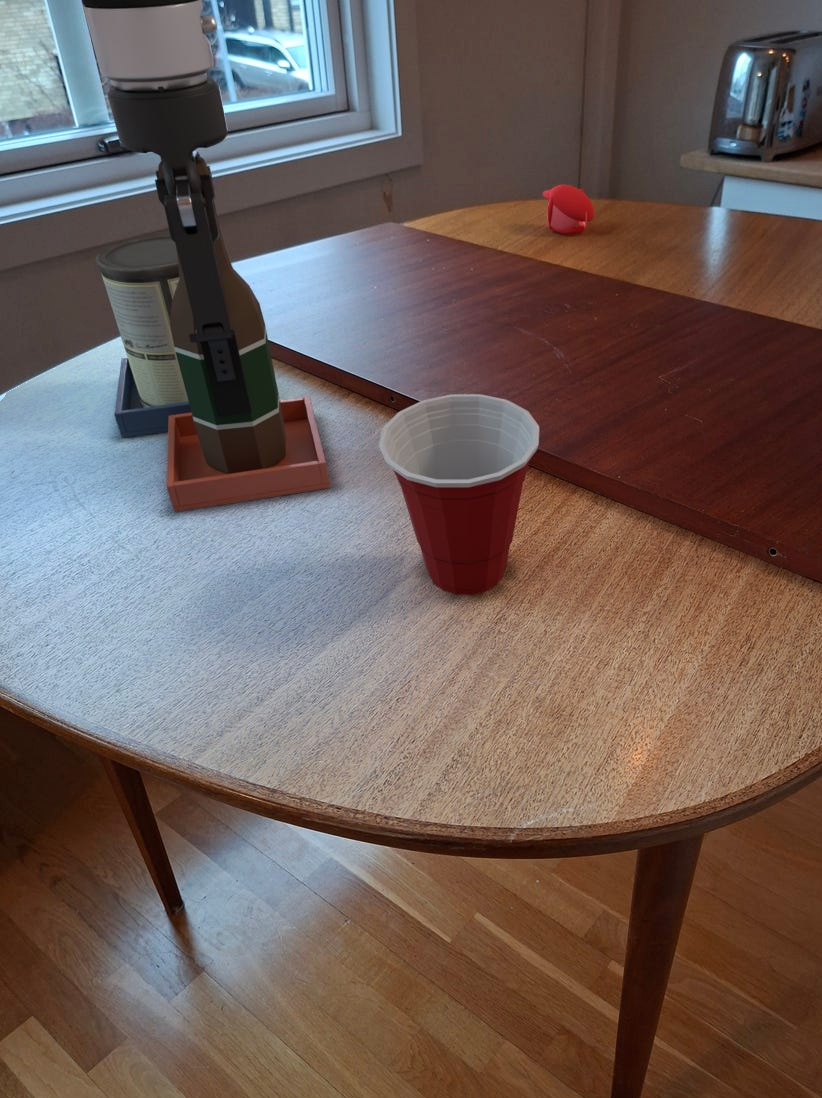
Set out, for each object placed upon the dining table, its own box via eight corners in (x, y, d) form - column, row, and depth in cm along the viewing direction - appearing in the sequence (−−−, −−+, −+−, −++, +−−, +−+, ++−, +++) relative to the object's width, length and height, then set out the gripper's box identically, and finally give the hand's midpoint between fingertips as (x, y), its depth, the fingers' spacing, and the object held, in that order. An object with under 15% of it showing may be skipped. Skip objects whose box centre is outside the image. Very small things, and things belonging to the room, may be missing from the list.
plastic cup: (373, 607, 63) (352, 461, 55) (420, 525, 71) (408, 387, 63) (519, 630, 61) (519, 481, 53) (551, 543, 69) (555, 401, 61)
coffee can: (166, 370, 94) (127, 231, 85) (257, 375, 93) (228, 234, 83) (120, 414, 86) (73, 267, 77) (219, 420, 85) (182, 271, 76)
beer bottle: (304, 437, 81) (252, 147, 65) (270, 480, 76) (205, 174, 60) (227, 430, 83) (158, 145, 67) (188, 472, 77) (103, 171, 61)
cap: (599, 227, 129) (602, 182, 125) (586, 239, 125) (588, 193, 121) (548, 221, 132) (549, 178, 128) (534, 233, 127) (534, 188, 123)
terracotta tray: (174, 512, 74) (166, 486, 72) (175, 439, 83) (168, 415, 82) (330, 488, 76) (326, 462, 74) (313, 419, 86) (309, 396, 84)
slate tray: (121, 438, 84) (114, 414, 82) (128, 380, 94) (121, 358, 92) (260, 418, 86) (255, 395, 84) (253, 364, 96) (248, 342, 94)
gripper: (221, 101, 53) (287, 440, 68) (213, 53, 68) (268, 340, 83) (93, 111, 52) (188, 454, 67) (113, 60, 67) (187, 350, 82)
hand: (232, 391), depth 75 cm, fingers closed on beer bottle, 7 cm apart
